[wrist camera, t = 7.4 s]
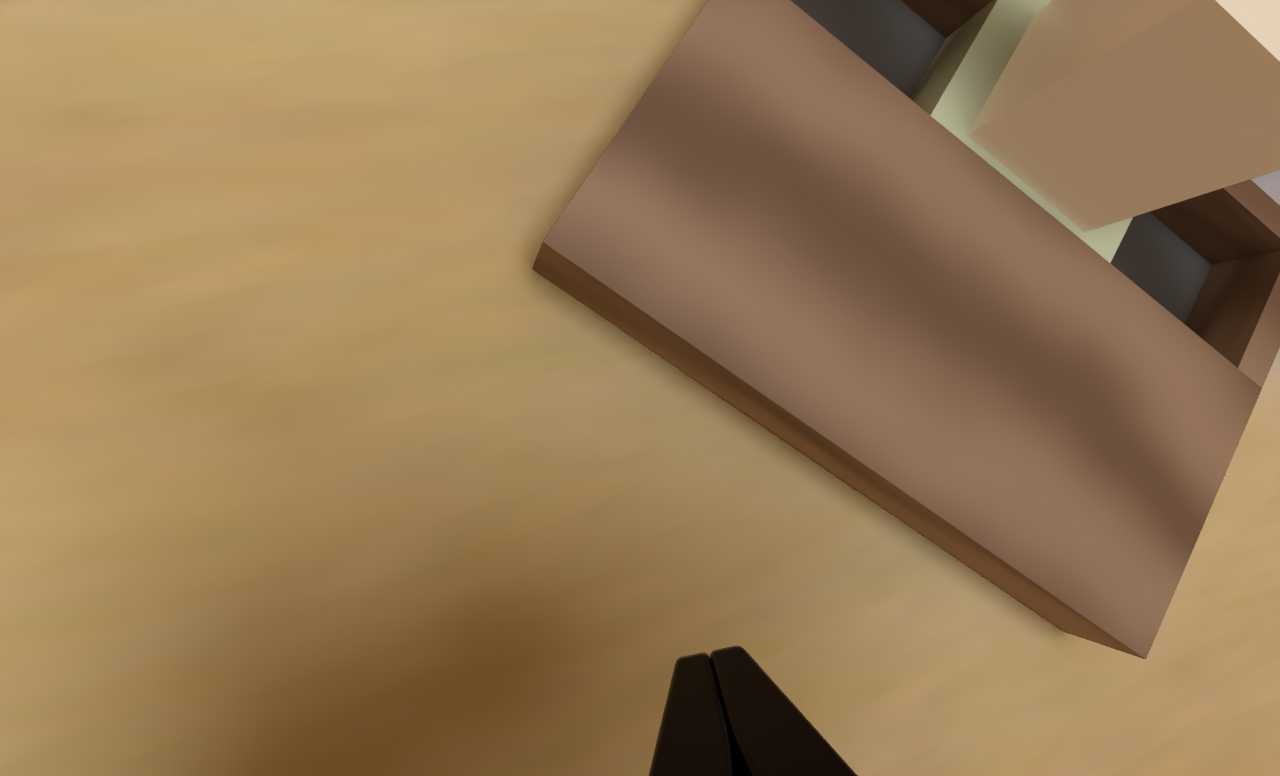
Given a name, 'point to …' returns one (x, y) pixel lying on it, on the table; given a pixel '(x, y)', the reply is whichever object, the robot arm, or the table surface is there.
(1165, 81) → the block
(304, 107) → the table surface
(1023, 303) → the brown compartment tray
